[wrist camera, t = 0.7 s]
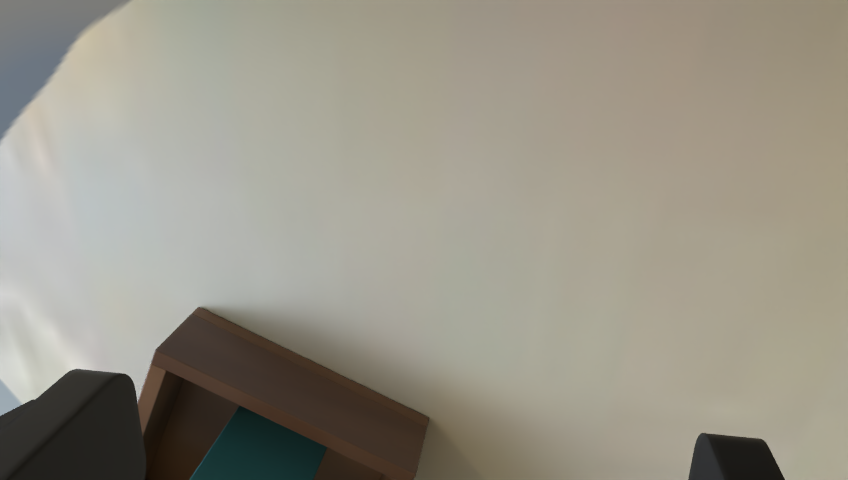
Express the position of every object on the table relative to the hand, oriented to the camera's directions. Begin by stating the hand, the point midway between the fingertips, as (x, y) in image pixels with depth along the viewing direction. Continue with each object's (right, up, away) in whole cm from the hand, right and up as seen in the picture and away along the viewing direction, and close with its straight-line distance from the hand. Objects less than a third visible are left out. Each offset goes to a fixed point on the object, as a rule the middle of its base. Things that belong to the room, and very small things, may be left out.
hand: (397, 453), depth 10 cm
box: (-8, -8, +28) cm, 30 cm away
